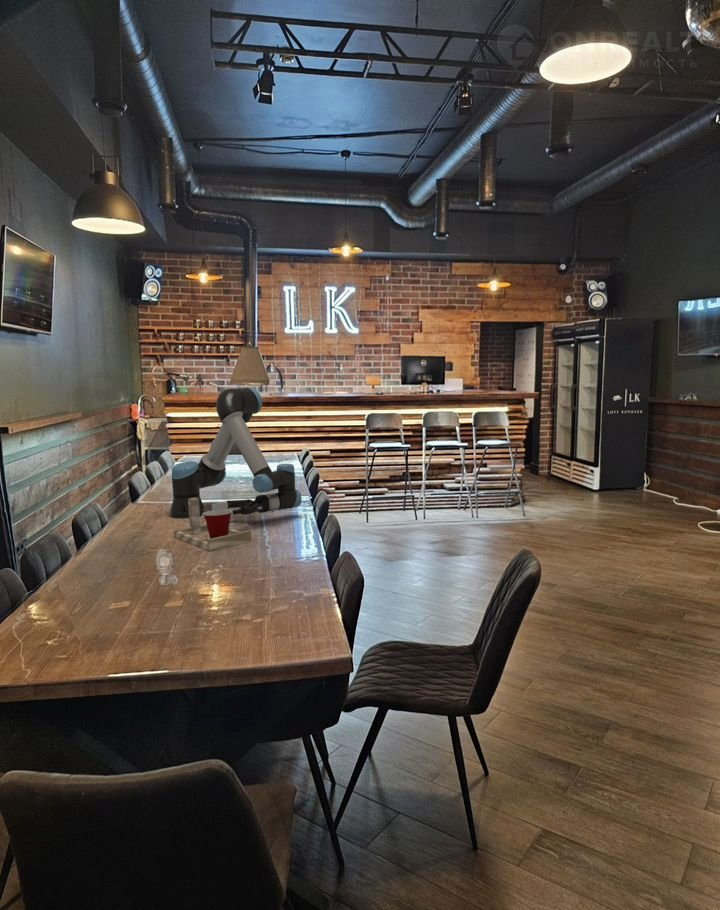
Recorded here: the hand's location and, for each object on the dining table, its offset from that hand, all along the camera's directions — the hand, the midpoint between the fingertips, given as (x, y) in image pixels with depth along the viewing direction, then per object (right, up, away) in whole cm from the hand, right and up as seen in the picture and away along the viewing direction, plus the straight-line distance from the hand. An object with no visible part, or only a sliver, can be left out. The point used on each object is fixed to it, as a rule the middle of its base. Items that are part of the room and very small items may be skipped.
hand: (218, 510), depth 236 cm
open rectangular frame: (0, -10, -13) cm, 16 cm away
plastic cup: (+5, -11, -17) cm, 21 cm away
